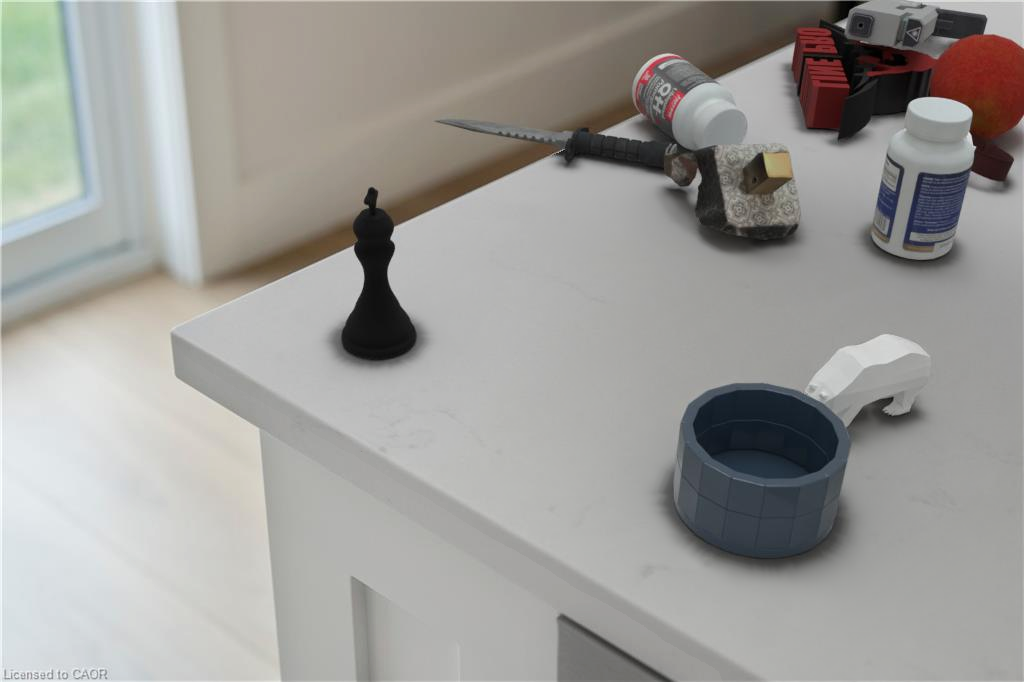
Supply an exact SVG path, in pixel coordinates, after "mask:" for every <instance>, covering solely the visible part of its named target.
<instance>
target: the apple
mask: <svg viewBox="0 0 1024 682" xmlns="http://www.w3.org/2000/svg"><path fill="white" fill-rule="evenodd" d="M937 59H938V60H937V62H936V64H935V67H934V69H933V71H932V74H931V78H930V97H937V98H945V99H951V100H954V101H957V102H960V103H962V104H964V105H966V106H967V107H969V108H970V109H971V111H972V120H971V125H970V130H969V131H970V132H972V133H974V134H976V135H978V136H980V137H983V138H985V139H986V140H987V139H988V140H990V139H995V138H1000V137H1001V136H1003V135H1004V134H1007V133H1008V132H1009V131H1011V130H1012V129H1014V128H1015V127H1016V126H1017V125H1019V123H1020V121H1022V119H1023V118H1024V47H1022V46H1021V45H1020V44H1018V43H1017V42H1015V41H1014V40H1013V39H1011V38H1007V37H1004V36H1001V35H998V34H995V33H992V34H988V33H987V34H985V33H984V35H972V36H969V37H966V38H963V39H956V41H955V42H953V43H952V45H950V46H949V47H948V48H946V50H945V51H943V53H941V54H940V55H939V56H938V58H937Z"/></svg>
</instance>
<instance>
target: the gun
mask: <svg viewBox="0 0 1024 682" xmlns="http://www.w3.org/2000/svg"><path fill="white" fill-rule="evenodd" d="M988 20H989V19H988V17H987V16H986V15H985V14H981V13H973V12H968V11H967V12H966V11H959V10H953V9H946V8H940V6H939V5H932V4H928V5H927V4H923V2H919V1H913V0H870V1H867V2H864V3H862V4H859V5H857V6H854V7H853V8H851V9H849V12H848V16H847V20H846V25H845V28H844V29H845V33H844V34H845V36H846V37H847V39H851V40H857V41H860V42H864V43H868V44H873V45H883V46H889V47H893V48H895V46H897V45H898V44H900V43H901V47H902V48H909V49H915V48H917V47H918V46H920V45H921V44H923V42H924V41H925V40H927V39H928V38H929V37H930V36H932V37H938V38H939V37H940V38H947V39H953V40H954V39H955V40H960V39H963V38H966V37H969V36H972V35H984V34H985V30H986V27H987V24H988Z"/></svg>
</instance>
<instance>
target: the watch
mask: <svg viewBox="0 0 1024 682" xmlns="http://www.w3.org/2000/svg"><path fill="white" fill-rule="evenodd" d="M965 138H966V139H967V140H968V141H969V142H970V144H971V145H972V147H973V150H974V159H973V164H972V168H971V172H972V173H974V174H975V175H978V176H980V177H983V178H986V179H988V180H991V181H995V182H1000V183H1001V182H1005V181H1006V179H1007V176H1008V174H1009V172H1010V170H1011V168H1012V166H1013V164H1014V162H1015V158H1014V157H1013V155H1011V153H1009V152H1008V151H1006V150H1005V149H1002V148H1001V147H999V146H998V145H997V144H996V143H994V142H992V141H990V139H985V138H983V137H980V136H978V135H976V134H974V133H972V132H970V131H969V132H968V135H967V136H966V137H965Z"/></svg>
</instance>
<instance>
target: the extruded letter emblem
mask: <svg viewBox="0 0 1024 682" xmlns="http://www.w3.org/2000/svg"><path fill="white" fill-rule="evenodd" d="M845 29H846V28H844V27H843V26H840V25H838V24H836V23H833V22H831V21H828V20H824V19H819V25H818V27H798V28H797V29H796V35H795V41H794V48H793V53H792V54H793V55H792V60H791V61H792V62H791V66H790V67H791V71H792V72H793V78H794V81H795V83H796V95H797V96H799V97H798V98H799V101H800V104H801V108H802V113H803V117H804V120H805V125H806V127H807V128H814V129H815V128H816V129H832V130H838V135H837V140H836V141H841V140H844V139H846V138H849V137H851V136H853V135H855V134H857V133H859V132H860V131H862V130H863V129H864V128H866V126H867V125H868V124H869V123H870V121H871V119H872V116H874V115H880V114H881V115H883V114H886V115H887V114H895V113H900V112H904V111H905V112H907V108H908V105H909V103H910V102H911V101H913V100H915V99H918V98H924V97H930V78H931V74H932V71H933V69H934V67H935V64H936V62H937V60H938V58H934V57H932V56H931V55H929V54H928V53H924V52H921V51H918V50H914V49H901V48H896V47H889V46H884V45H878V44H873V43H868V42H862V41H857V40H851V39H847V37H846V36H845V34H844V33H845Z"/></svg>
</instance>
